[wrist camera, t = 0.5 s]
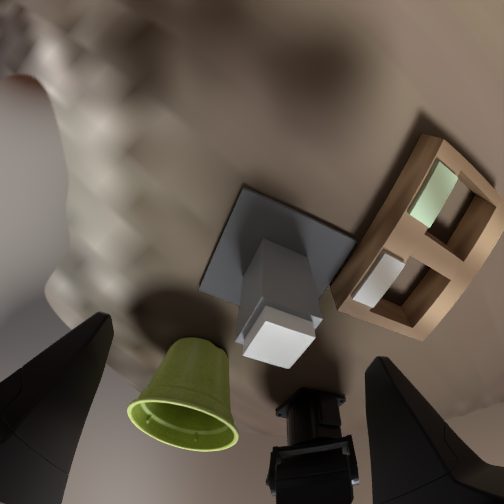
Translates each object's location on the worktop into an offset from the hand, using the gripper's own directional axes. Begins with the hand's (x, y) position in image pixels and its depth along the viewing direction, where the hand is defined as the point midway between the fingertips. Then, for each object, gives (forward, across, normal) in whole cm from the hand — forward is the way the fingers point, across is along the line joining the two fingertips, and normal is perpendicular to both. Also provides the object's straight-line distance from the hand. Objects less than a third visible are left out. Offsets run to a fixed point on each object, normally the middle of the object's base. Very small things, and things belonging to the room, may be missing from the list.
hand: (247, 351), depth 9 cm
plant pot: (+12, +2, +17) cm, 21 cm away
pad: (+12, -2, +4) cm, 13 cm away
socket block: (+12, -14, 0) cm, 18 cm away
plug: (+12, -2, +4) cm, 13 cm away
